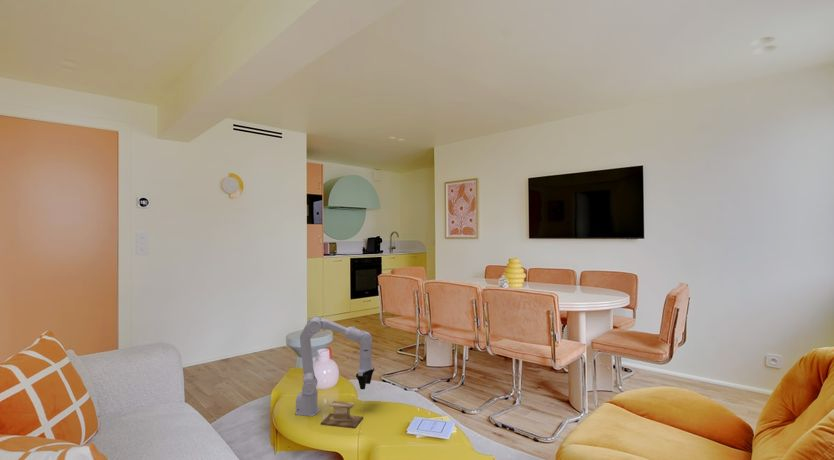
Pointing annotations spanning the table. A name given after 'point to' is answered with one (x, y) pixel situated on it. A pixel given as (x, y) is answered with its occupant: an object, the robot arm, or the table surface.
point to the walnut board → (342, 424)
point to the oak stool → (341, 411)
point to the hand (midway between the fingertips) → (365, 386)
